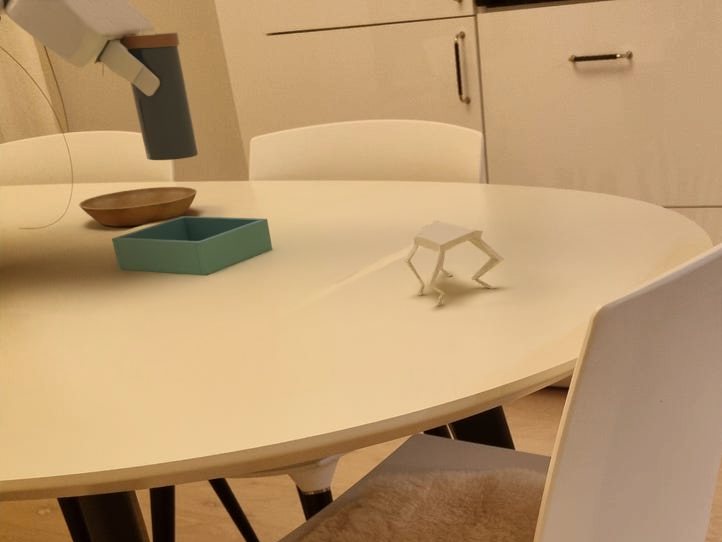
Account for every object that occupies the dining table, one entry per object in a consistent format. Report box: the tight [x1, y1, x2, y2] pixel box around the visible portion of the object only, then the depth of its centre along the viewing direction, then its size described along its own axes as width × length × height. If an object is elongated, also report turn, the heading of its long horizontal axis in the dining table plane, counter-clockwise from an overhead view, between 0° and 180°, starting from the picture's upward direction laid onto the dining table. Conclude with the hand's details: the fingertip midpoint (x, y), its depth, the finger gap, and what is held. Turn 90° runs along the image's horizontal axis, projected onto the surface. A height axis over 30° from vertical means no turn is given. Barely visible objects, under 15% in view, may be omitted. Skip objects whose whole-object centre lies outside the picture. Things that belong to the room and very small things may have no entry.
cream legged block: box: [404, 220, 505, 307], centre depth 84 cm, size 12×8×5 cm
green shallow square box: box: [111, 215, 273, 276], centre depth 98 cm, size 11×11×4 cm
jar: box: [119, 31, 200, 161], centre depth 90 cm, size 5×5×10 cm
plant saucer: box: [78, 186, 198, 227], centre depth 122 cm, size 15×15×3 cm
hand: (165, 86), depth 90 cm, fingers closed on jar, 5 cm apart
